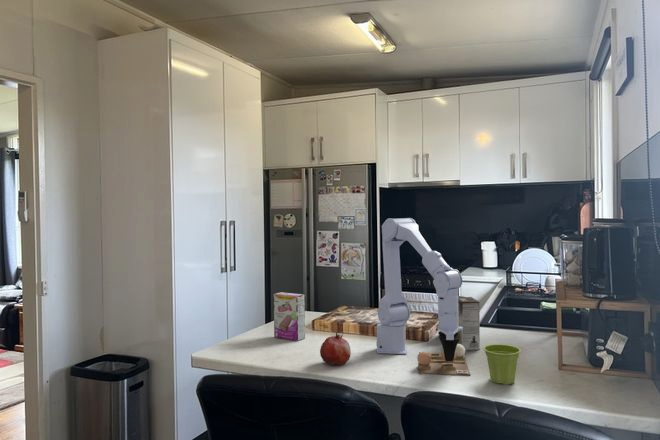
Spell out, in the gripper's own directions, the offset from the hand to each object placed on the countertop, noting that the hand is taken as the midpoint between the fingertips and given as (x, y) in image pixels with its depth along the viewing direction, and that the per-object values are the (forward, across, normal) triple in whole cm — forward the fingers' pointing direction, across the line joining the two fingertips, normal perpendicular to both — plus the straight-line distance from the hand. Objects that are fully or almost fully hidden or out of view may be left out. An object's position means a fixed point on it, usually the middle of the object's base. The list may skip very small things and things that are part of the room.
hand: (448, 358), depth 141 cm
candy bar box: (+3, +29, +56) cm, 63 cm away
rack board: (+3, +5, +2) cm, 6 cm away
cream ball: (0, +10, -4) cm, 11 cm away
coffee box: (+3, +26, -8) cm, 27 cm away
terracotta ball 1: (0, 0, +7) cm, 7 cm away
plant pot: (+3, -8, -14) cm, 16 cm away
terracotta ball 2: (-1, 0, 0) cm, 1 cm away
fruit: (+3, +1, +34) cm, 34 cm away
